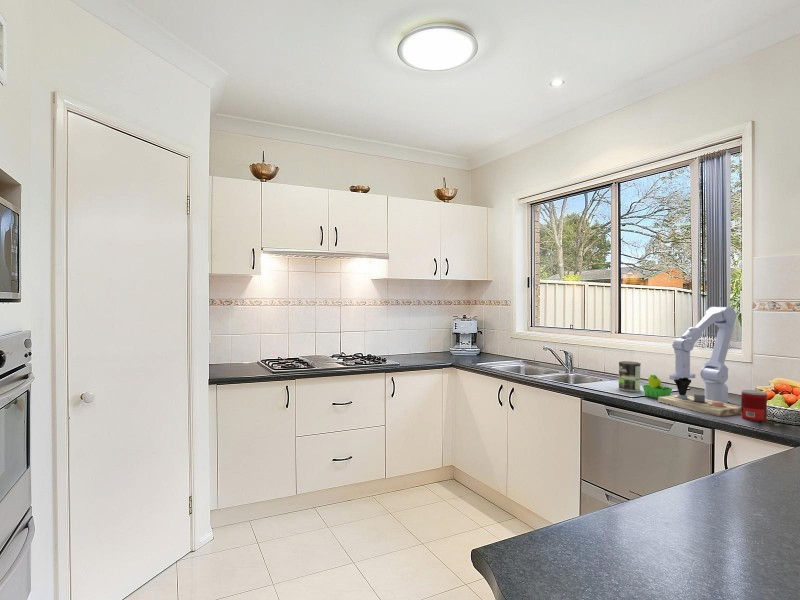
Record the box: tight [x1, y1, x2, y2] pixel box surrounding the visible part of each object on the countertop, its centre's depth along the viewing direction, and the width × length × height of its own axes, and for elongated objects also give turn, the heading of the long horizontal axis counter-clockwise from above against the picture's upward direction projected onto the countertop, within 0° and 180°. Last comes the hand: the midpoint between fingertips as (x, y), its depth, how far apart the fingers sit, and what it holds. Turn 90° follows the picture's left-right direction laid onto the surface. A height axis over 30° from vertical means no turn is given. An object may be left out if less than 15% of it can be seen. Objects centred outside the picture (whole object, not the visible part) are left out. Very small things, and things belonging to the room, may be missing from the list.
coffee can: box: [618, 360, 642, 392], centre depth 247 cm, size 10×10×14 cm
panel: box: [657, 394, 741, 417], centre depth 207 cm, size 16×28×2 cm, turn 23°
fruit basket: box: [642, 373, 674, 399], centre depth 227 cm, size 11×9×11 cm
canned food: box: [740, 389, 768, 423], centre depth 187 cm, size 8×8×11 cm
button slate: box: [676, 393, 689, 400], centre depth 214 cm, size 4×4×4 cm
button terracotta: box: [712, 401, 724, 408], centre depth 200 cm, size 4×4×4 cm
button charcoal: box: [693, 393, 705, 404], centre depth 207 cm, size 4×4×4 cm
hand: (682, 394), depth 214 cm, fingers closed, pressing on button slate
